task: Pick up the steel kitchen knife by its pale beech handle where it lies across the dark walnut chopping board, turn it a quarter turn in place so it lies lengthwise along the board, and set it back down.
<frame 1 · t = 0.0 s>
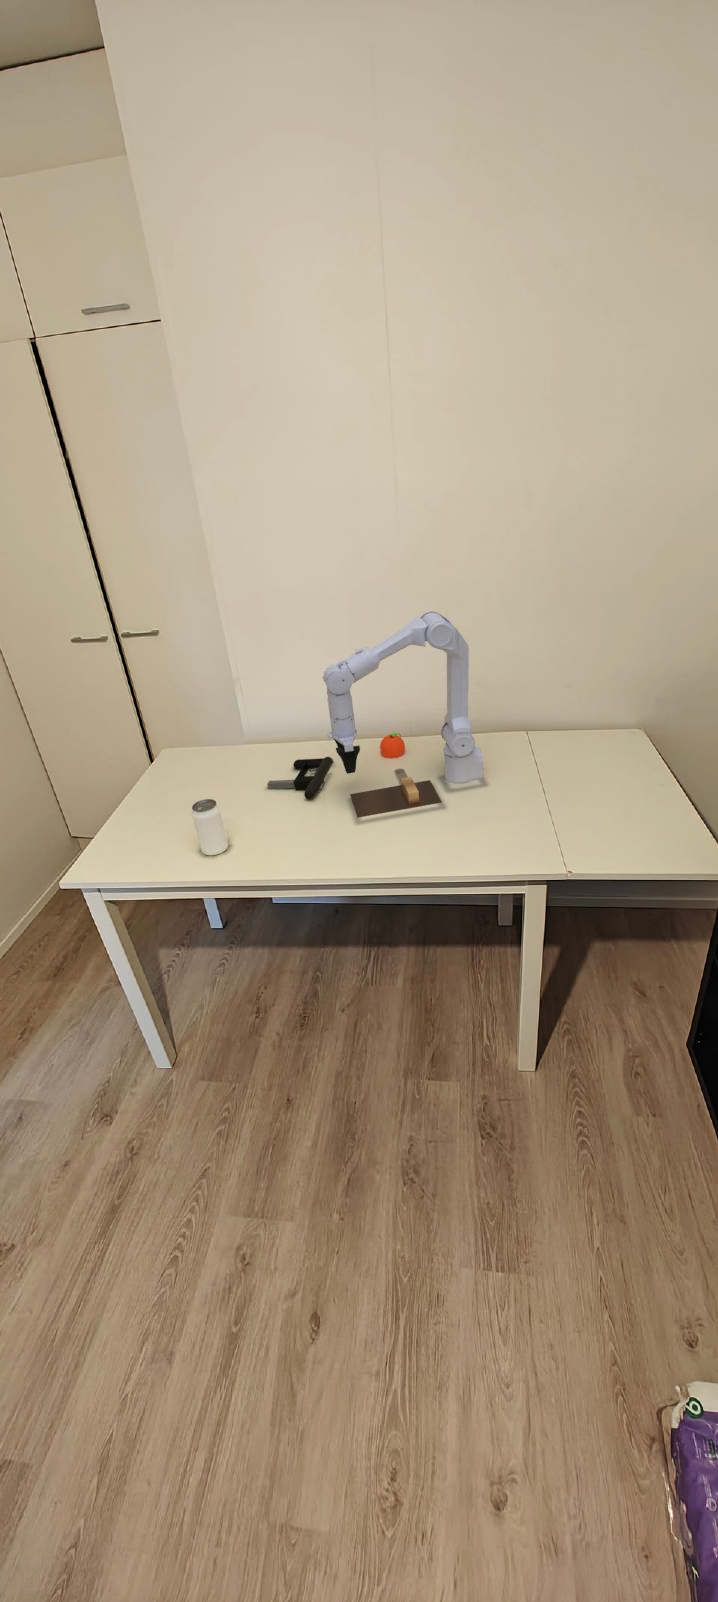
hand: (348, 765, 176), 10 cm above the table, tool pointing down, fingers open, 7 cm apart
board: (395, 803, 177), on the table
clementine: (394, 757, 199), on the table
knife: (403, 779, 184), point 1 cm above the table, touching board
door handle: (301, 782, 193), on the table
can: (215, 849, 168), on the table
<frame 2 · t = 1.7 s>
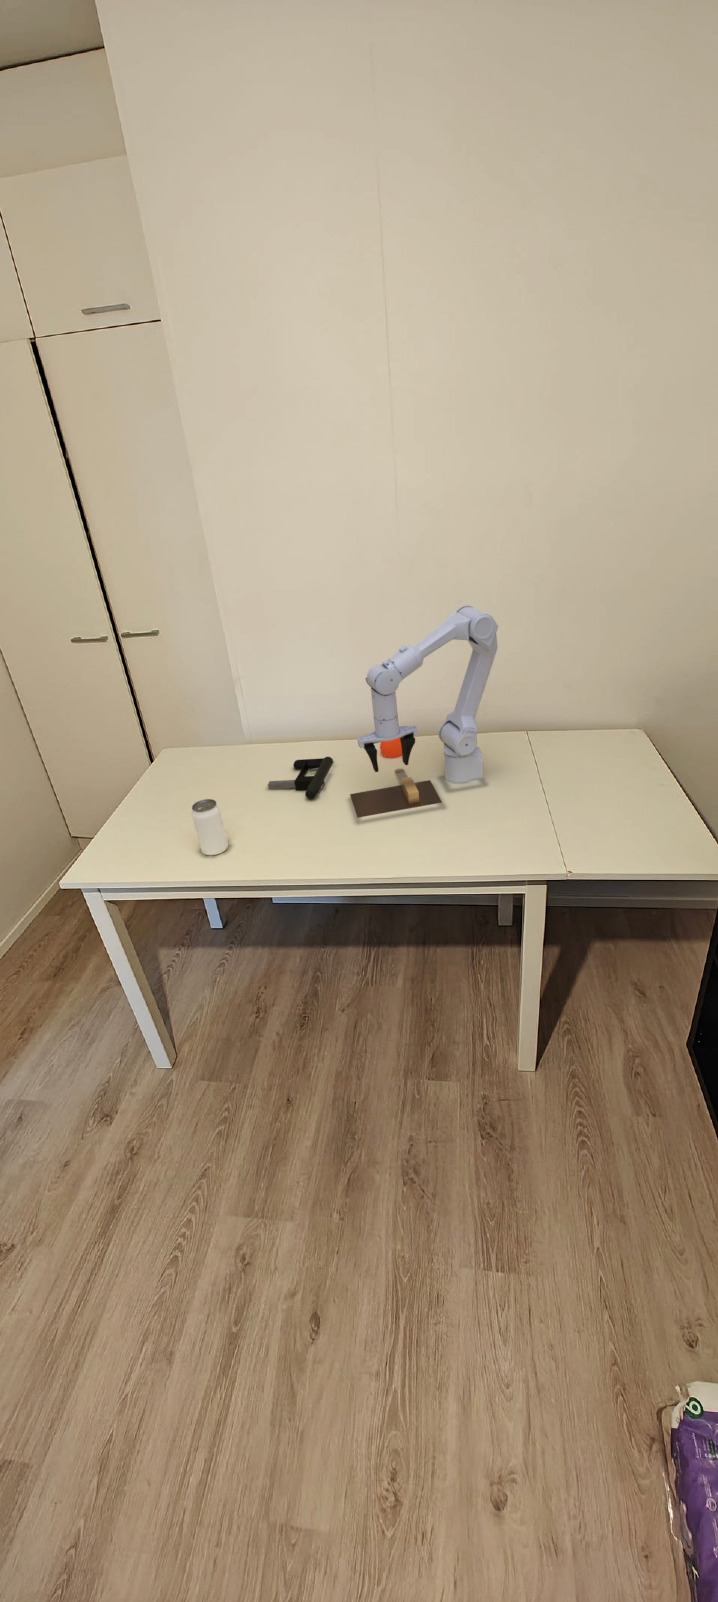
hand: (390, 766, 174), 10 cm above the table, tool pointing down, fingers open, 7 cm apart
nothing on the table moved.
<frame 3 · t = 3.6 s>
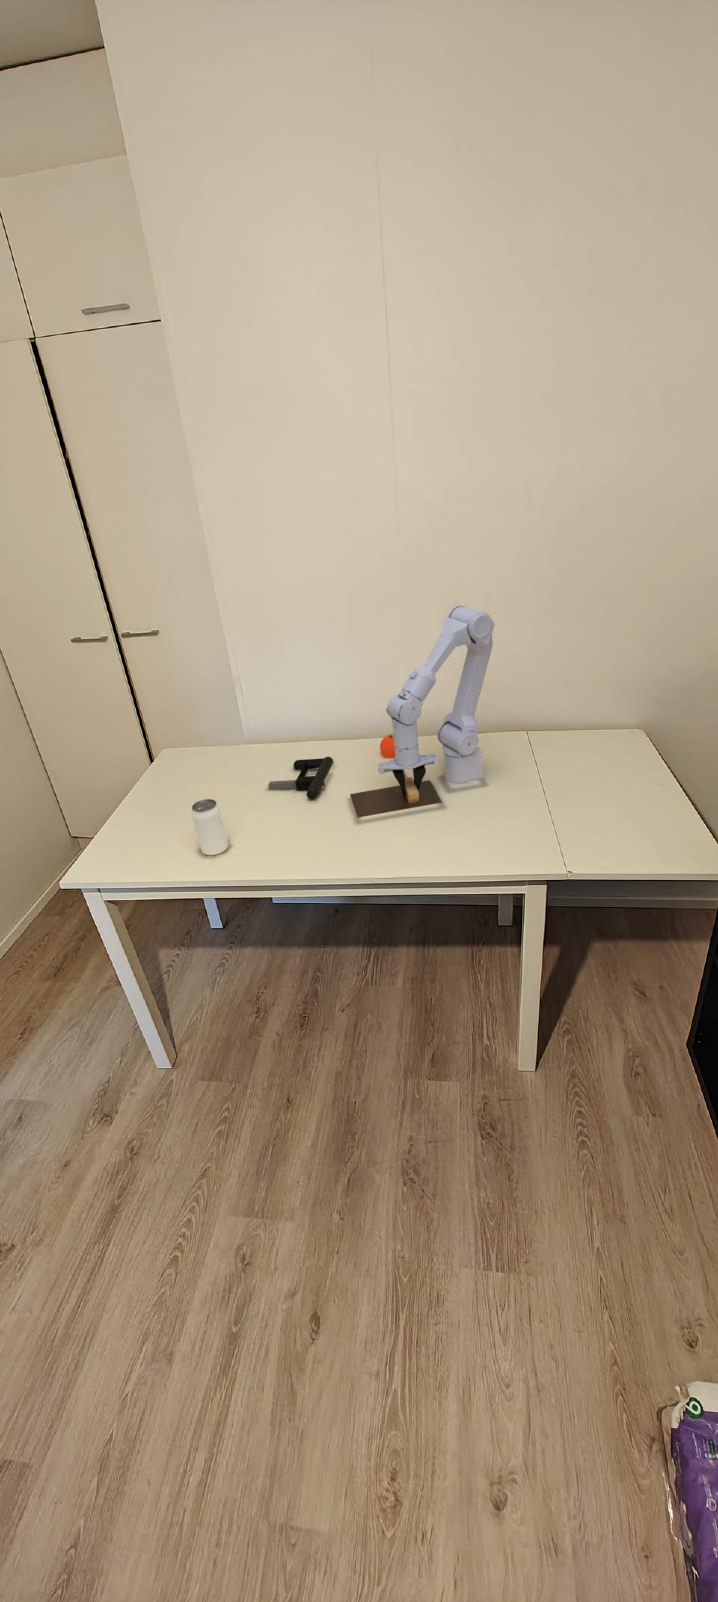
hand: (410, 793, 177), 2 cm above the table, tool pointing down, fingers closed on knife, 2 cm apart
knife: (403, 779, 184), point 2 cm above the table, touching board, gripper
everything else where it was.
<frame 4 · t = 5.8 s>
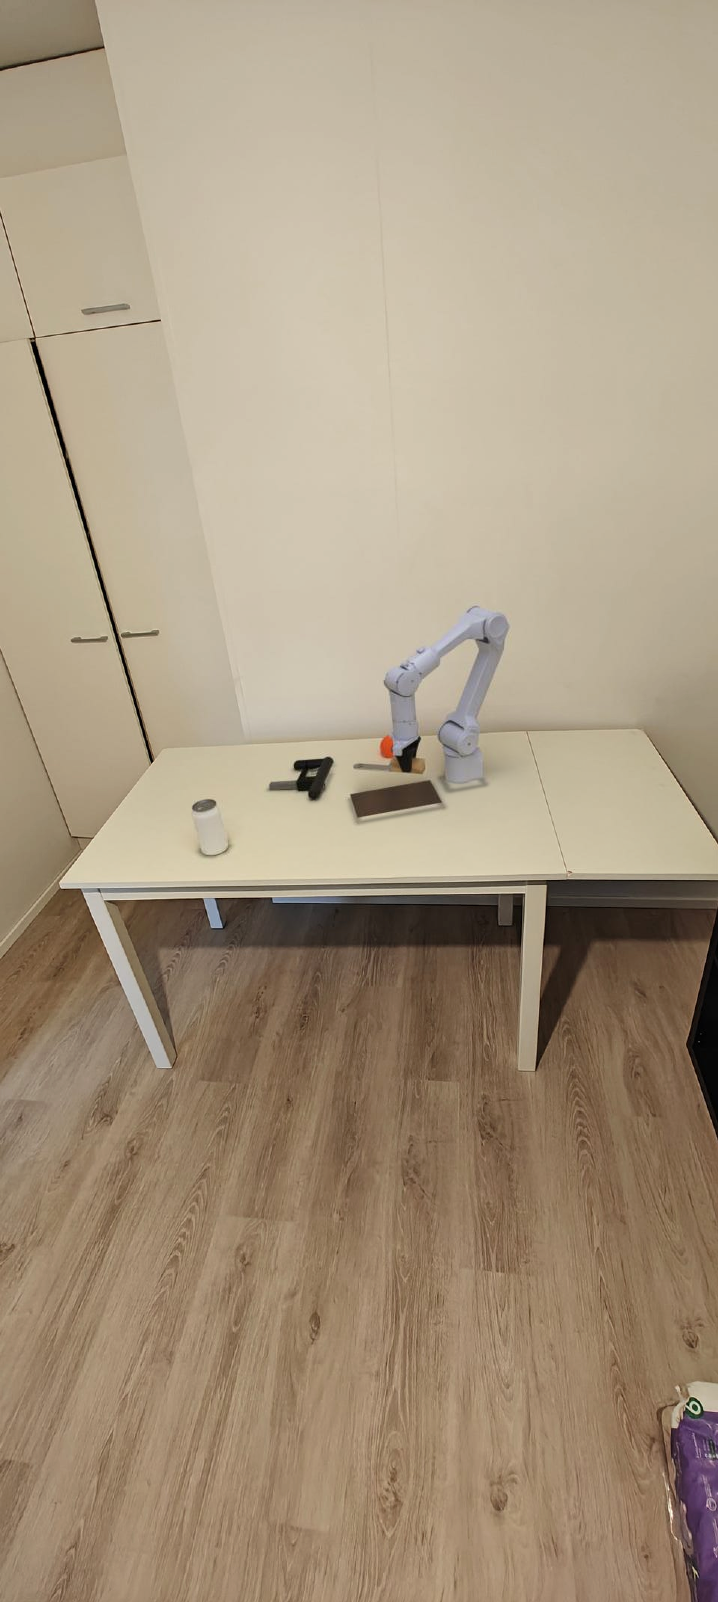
hand: (408, 768, 173), 9 cm above the table, tool pointing down, fingers closed on knife, 2 cm apart
knife: (375, 768, 176), point 8 cm above the table, touching gripper
everything else where it was.
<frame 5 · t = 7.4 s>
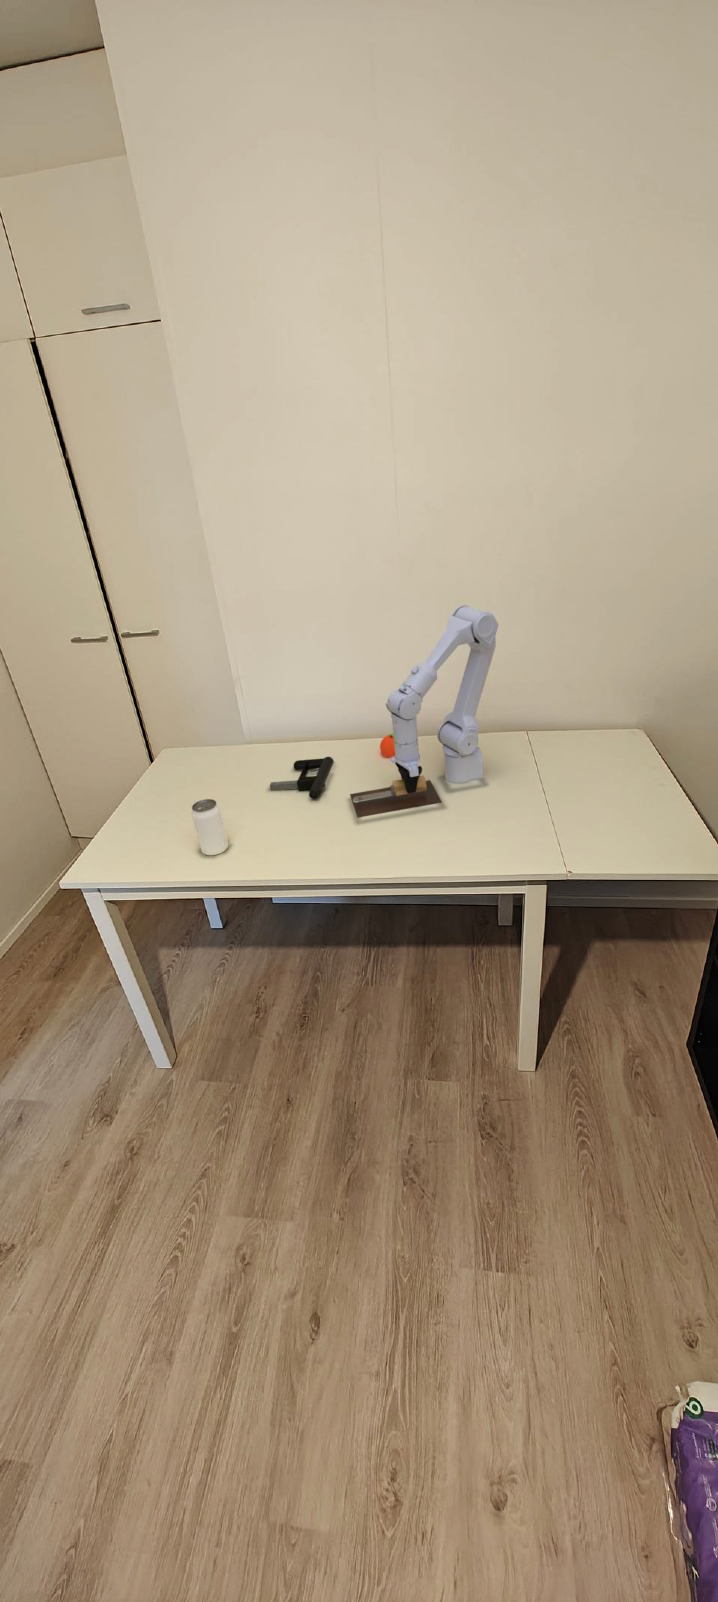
hand: (410, 789, 176), 3 cm above the table, tool pointing down, fingers closed on knife, 2 cm apart
knife: (376, 797, 175), point 3 cm above the table, touching gripper
everything else where it was.
when the fingers open (2 cm above the table, at t = 8.1 s): knife stays where it is, resting on board.
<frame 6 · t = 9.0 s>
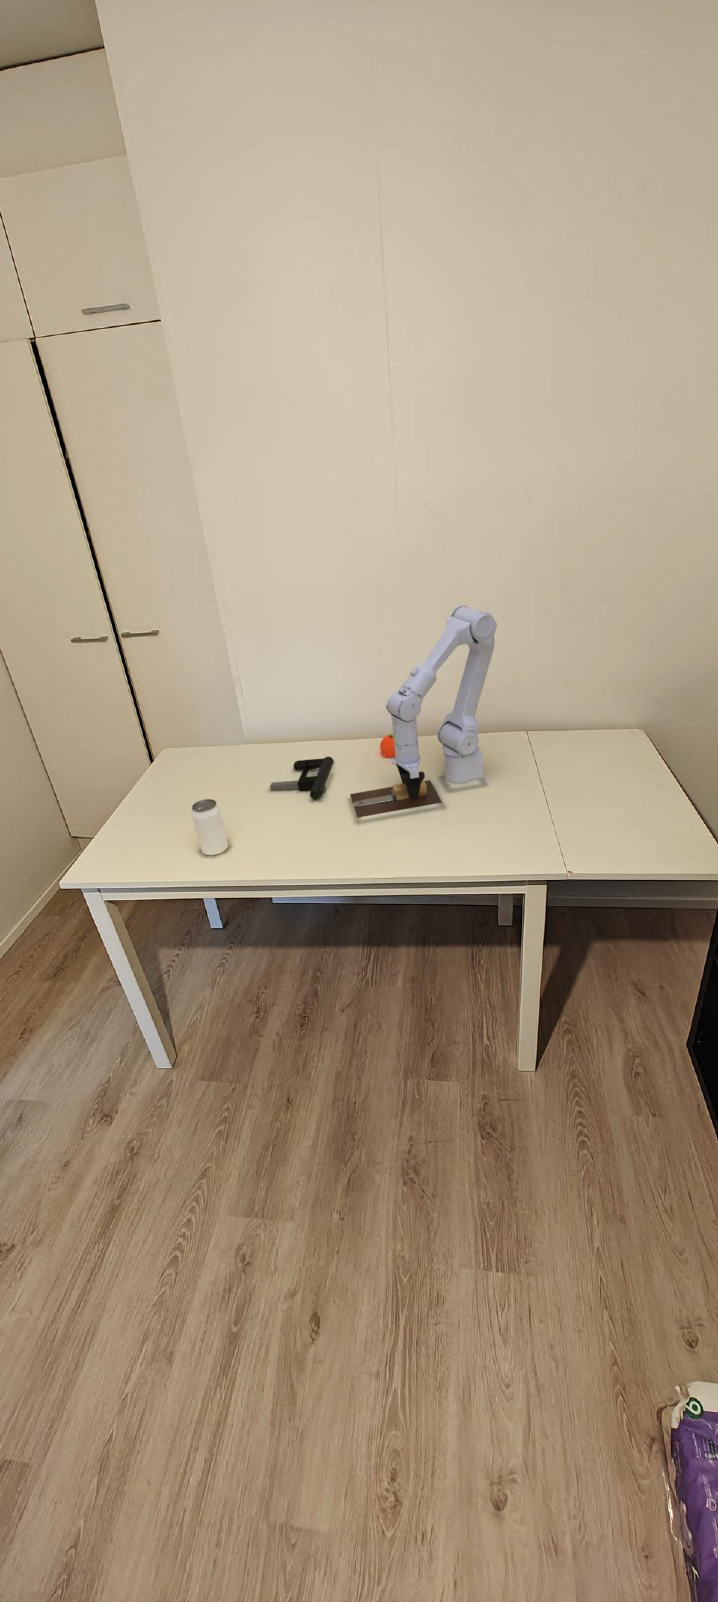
hand: (410, 790, 176), 3 cm above the table, tool pointing down, fingers open, 7 cm apart
knife: (376, 801, 176), point 1 cm above the table, touching board
everything else where it was.
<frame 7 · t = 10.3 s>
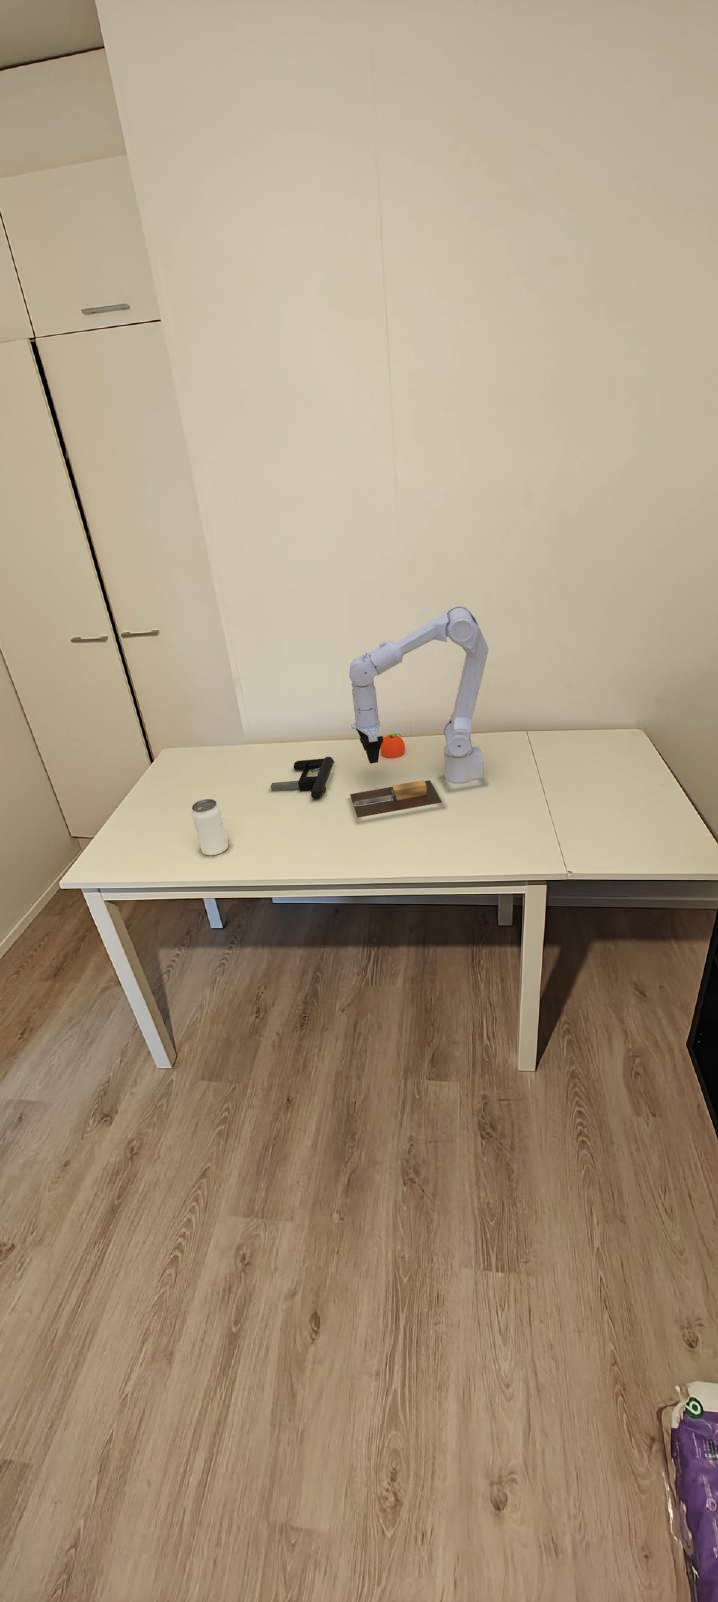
hand: (370, 755, 180), 9 cm above the table, tool pointing down, fingers open, 7 cm apart
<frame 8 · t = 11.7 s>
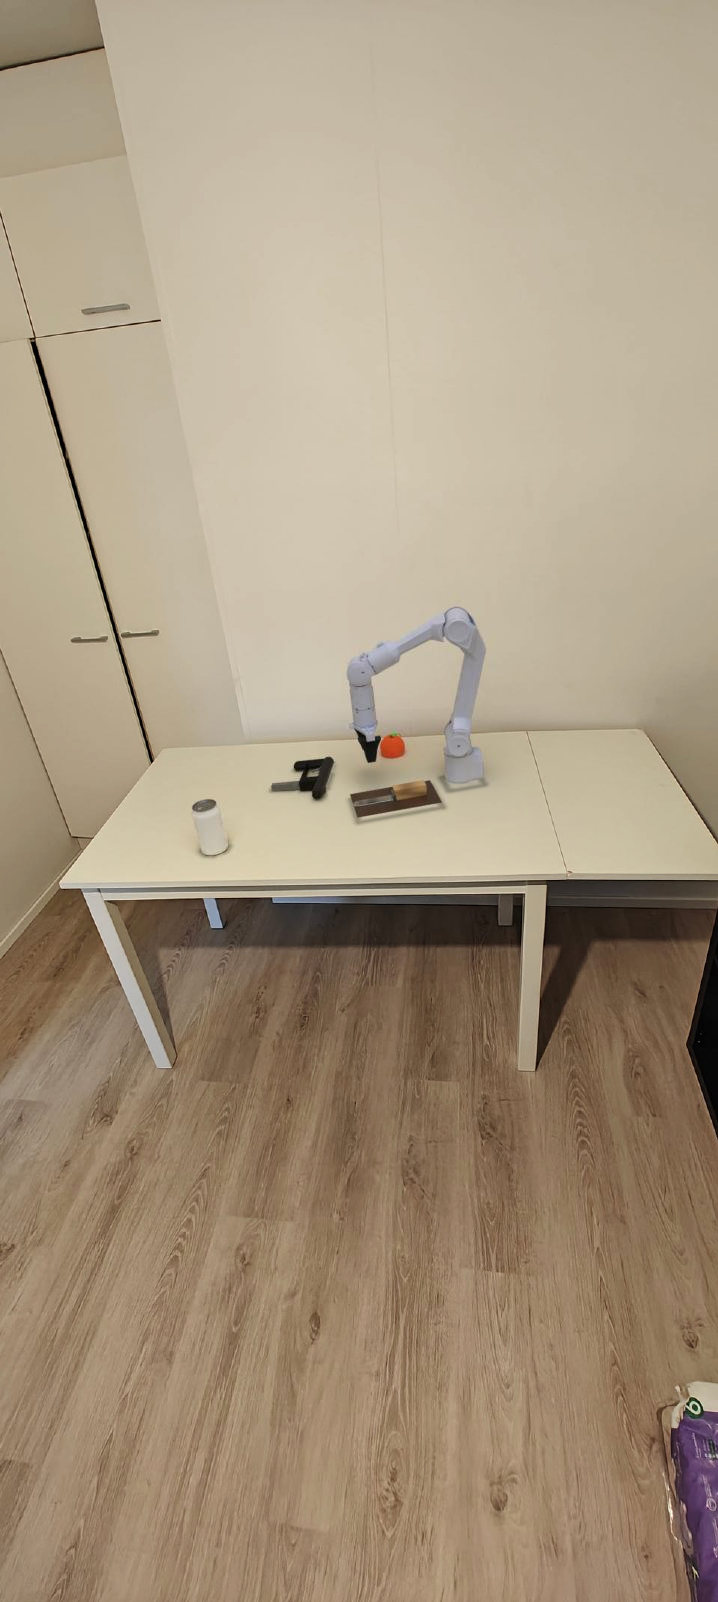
hand: (368, 755, 181), 9 cm above the table, tool pointing down, fingers open, 7 cm apart
at the end: knife 0.4 cm from the target spot on the board, point 1.5 cm above the board's base; knife tilted 0°; knife touching board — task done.
